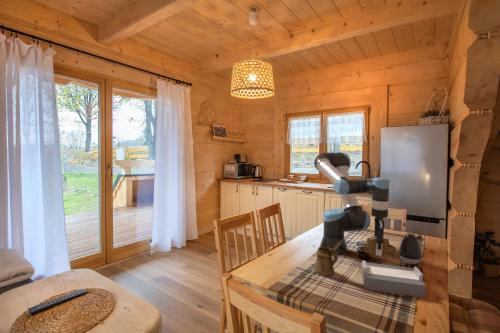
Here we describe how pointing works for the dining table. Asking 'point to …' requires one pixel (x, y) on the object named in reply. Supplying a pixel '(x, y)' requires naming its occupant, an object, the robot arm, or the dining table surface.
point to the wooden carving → (371, 247)
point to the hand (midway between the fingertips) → (377, 253)
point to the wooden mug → (326, 260)
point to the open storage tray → (393, 279)
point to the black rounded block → (410, 249)
